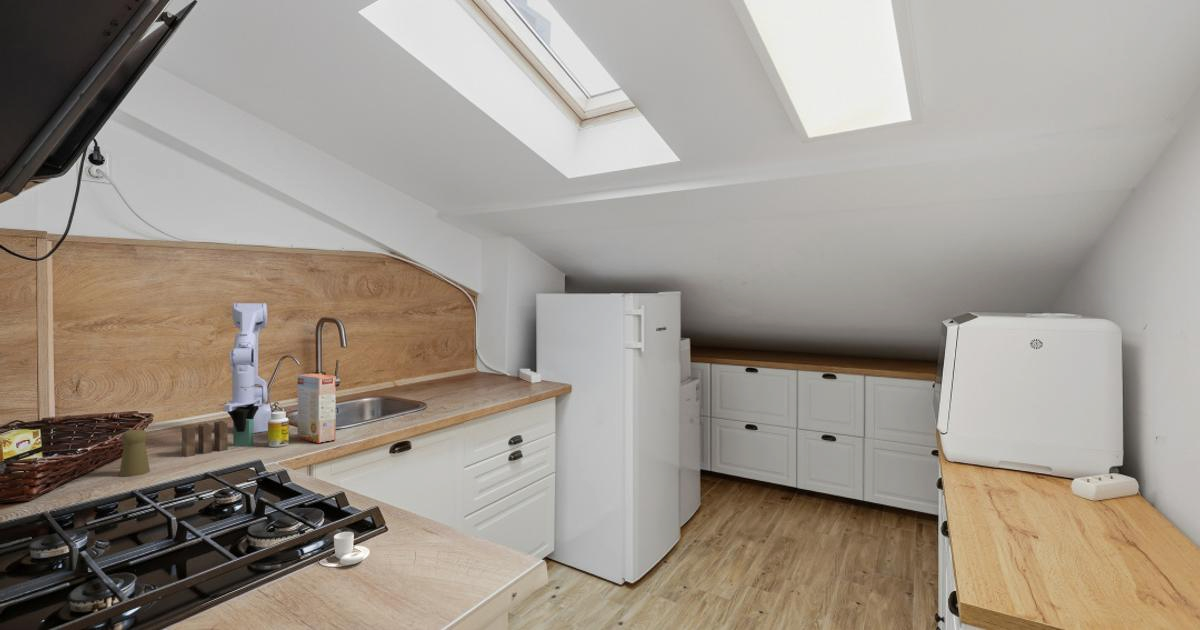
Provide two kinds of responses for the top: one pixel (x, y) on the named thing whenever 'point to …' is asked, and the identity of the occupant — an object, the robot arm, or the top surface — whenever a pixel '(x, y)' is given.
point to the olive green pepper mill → (134, 454)
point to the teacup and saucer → (346, 550)
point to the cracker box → (316, 407)
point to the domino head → (244, 435)
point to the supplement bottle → (278, 429)
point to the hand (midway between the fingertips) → (243, 430)
